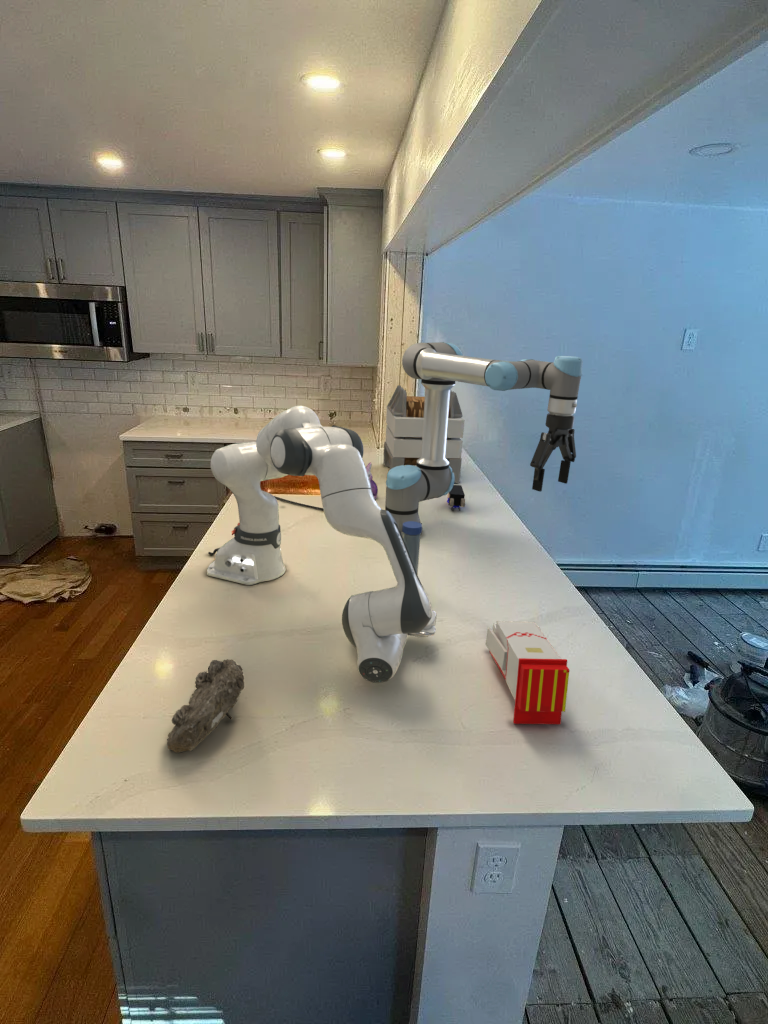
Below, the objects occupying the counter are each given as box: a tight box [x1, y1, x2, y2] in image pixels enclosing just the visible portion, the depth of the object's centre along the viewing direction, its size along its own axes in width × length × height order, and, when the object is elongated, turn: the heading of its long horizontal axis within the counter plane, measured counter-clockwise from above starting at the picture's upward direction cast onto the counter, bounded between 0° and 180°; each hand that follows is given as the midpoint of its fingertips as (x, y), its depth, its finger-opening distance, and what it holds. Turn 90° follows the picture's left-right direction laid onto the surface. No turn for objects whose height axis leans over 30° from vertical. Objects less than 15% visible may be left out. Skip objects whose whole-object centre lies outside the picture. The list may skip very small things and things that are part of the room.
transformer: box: [383, 384, 465, 484], centre depth 268 cm, size 34×33×41 cm
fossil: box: [166, 658, 245, 754], centre depth 106 cm, size 22×10×15 cm
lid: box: [402, 521, 423, 535], centre depth 155 cm, size 5×5×2 cm
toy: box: [485, 620, 570, 725], centre depth 121 cm, size 12×13×30 cm
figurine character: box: [446, 484, 466, 511], centre depth 229 cm, size 7×8×15 cm
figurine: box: [365, 461, 379, 500], centre depth 233 cm, size 9×10×15 cm
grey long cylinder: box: [403, 533, 422, 576], centre depth 158 cm, size 5×5×19 cm
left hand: (398, 601), depth 142 cm, fingers open, 8 cm apart
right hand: (549, 486), depth 165 cm, fingers open, 13 cm apart
